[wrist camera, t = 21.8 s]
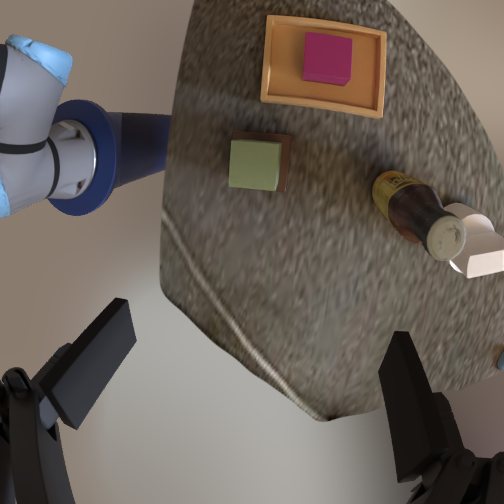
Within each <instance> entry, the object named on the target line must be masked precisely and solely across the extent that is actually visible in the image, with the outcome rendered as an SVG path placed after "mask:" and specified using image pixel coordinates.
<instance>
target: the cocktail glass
mask: <svg viewBox="0 0 504 504" xmlns="http://www.w3.org/2000/svg"><path fill="white" fill-rule="evenodd" d="M498 368H499V369H500V370H504V350H503V352H502V353H501V355H500V357H499V359H498Z"/></svg>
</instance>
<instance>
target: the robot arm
mask: <svg viewBox="0 0 504 504" xmlns="http://www.w3.org/2000/svg"><path fill="white" fill-rule="evenodd" d="M5 43H6V44H0V218H2V217H7V216H9V215H11V214H12V213H15V212H17V211H19V210H21V209H23V208H25V207H28V206H30V205H32V204H34V203H37V202H39V201H41V200H43V199H46V198H55V199H72V198H75V197H78V196H80V195H82V194H84V193H85V192H86V191H87V190H88V189H89V188H90V186H91V185H92V183H93V181H94V179H95V176H96V173H97V169H98V158H99V157H98V148H97V143H96V140H95V137H94V135H93V133H92V132H91V130H90V129H89V128H88V126H87V125H85V124H84V123H83V122H81V121H78V120H63V121H60V122H58V123H56V124H54V125H52V121H53V118H54V115H55V112H56V109H57V106H58V103H59V100H60V97H61V95H62V92H63V89H64V87H66V85H67V83H66V81H67V78H68V75H69V73H70V70H71V68H72V64H73V59H72V57H71V55H70V54H69V53H67V52H65V51H62V50H60V49H57V48H54V47H52V46H49V45H46V44H43V43H40V42H37V41H33V40H30V39H27V38H25V37H21V36H18V35H14V34H13V35H10V36H9V38H8V39H7V40H6V42H5ZM51 125H52V126H51ZM136 341H137V340H136V336H135V332H134V327H133V323H132V319H131V314H130V309H129V304H128V300H126V299H121V298H115V299H114V300H113V301H112V302H111V303H110V304H109V305H108V306H107V307H106V308H105V309H104V310H103V311H102V312H101V313H100V314H99V315H98V317H96V319H95V320H94V321H93V322H92V323H91V324H90V325H89V326H88V327H87V328H86V329H85V330H84V331H83V333H82V334H81V335H80V336H79V337H78V338H77V339H76V340H75V341H74V342H73V344H70V343H67V344H65V345H64V346H62V347H60V348H59V349H58V350H57V351H56V352H55V354H54V355H53V356H52V357H51V358H50V359H49V361H48V362H46V364H45V365H44V366H43V367H42V368H41V369H40V371H39V372H38V373H37V374H36V375H35V376H34V377H33V378H32V380H31V381H30V379H29V377H28V376H27V374H26V372H25V371H24V370H23V369H22V368H19V367H14V368H11V369H9V370H8V371H6V372H5V374H4V375H3V377H2V382H3V383H4V384H3V383H2V382H1V380H0V504H15V500H16V501H17V504H75V501H74V497H73V494H72V490H71V486H70V482H69V478H68V475H67V470H66V465H65V461H64V456H63V451H62V446H61V440H60V433H59V426H58V423H57V421H56V420H57V418H58V417H60V418H61V420H62V421H63V423H64V424H66V425H68V426H70V427H72V428H74V429H76V430H77V429H78V428H79V426H80V425H81V423H82V422H83V420H84V418H85V417H86V415H87V414H88V412H89V411H90V409H91V407H92V406H93V405H94V403H95V402H96V400H97V399H98V397H99V395H100V394H101V392H102V391H103V389H104V388H105V386H106V385H107V383H108V382H109V380H110V379H111V378H112V376H113V374H114V373H115V372H116V370H117V369H118V367H119V366H120V364H121V363H122V361H123V360H124V359H125V357H126V355H127V354H128V353H129V351H130V350H131V348H132V347H133V346H134V344H135V343H136ZM378 374H379V378H380V383H381V387H382V392H383V396H384V401H385V406H386V411H387V416H388V421H389V427H390V433H391V438H392V445H393V451H394V458H395V464H396V473H397V481H398V483H402V482H409V481H414V480H416V478H418V477H419V476H420V475H422V482H420V483H419V484H418V485H417V486H416V487H414V488H413V489H412V490H411V492H414V491H415V492H414V493H413V495H412V496H411V497H410V499H409V500H408V502H407V503H406V504H504V452H499V453H497V454H496V455H495V456H494V457H493V458H478V457H475V455H474V453H472V452H471V451H470V450H468V449H465V448H464V446H463V443H462V439H461V436H460V433H459V430H458V427H457V424H456V421H455V419H454V415H453V412H451V410H452V409H451V407H450V404H449V401H448V400H447V398H446V397H445V396H444V395H443V394H442V392H437V393H432V390H431V388H430V385H429V382H428V379H427V377H426V374H425V371H424V369H423V366H422V364H421V361H420V358H419V356H418V354H417V351H416V349H415V346H414V344H413V341H412V339H411V337H410V334H409V332H405V331H394V334H393V336H392V339H391V342H390V344H389V347H388V349H387V352H386V354H385V357H384V359H383V361H382V364H381V366H380V368H379V371H378Z"/></svg>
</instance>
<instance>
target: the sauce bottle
mask: <svg viewBox="0 0 504 504" xmlns="http://www.w3.org/2000/svg"><path fill="white" fill-rule="evenodd" d="M372 196H373V200H374V203H375V204H376V206H377V207H378V209H379V210H380V211H381V212H382V213H383V215H384V216H385V217H386V218H387V220H388V221H389V222H390V223H391V225H392V226H393V227H394V228H395V229H396V230H397V231H398V232H399V233H400V234H401V235H402V236H403V237H404V238H405V239H407V240H408V241H411V242H413V243H416V244H419V243H420V244H421V243H423V246H424V248H425V250H426V251H427V252H428V253H429V254H430V255H431V256H432V257H433V258H434V259H436V260H439V261H449V260H451V259H453V258H454V257H456V256H457V255H458V254H459V253H460V252H461V251H462V249H463V247H464V245H465V241H466V230H465V227H464V224H463V222H462V221H461V220H460V219H459V218H458V217H457V216H456V215H455V214H453V213H451V212H449V211H445V210H444V208H443V206H442V203H441V201H440V199H439V196H438V194H437V193H436V191H435V190H434V189H433V188H431V187H430V186H428V185H426V184H424V183H422V182H420V181H418V180H416V179H414V178H412V177H410V176H408V175H406V174H404V173H402V172H399V171H387V172H383V173H381V174H380V175H379V176H378V177H377V178H376V180H375V181H374V183H373V185H372Z"/></svg>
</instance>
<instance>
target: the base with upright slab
mask: <svg viewBox="0 0 504 504" xmlns="http://www.w3.org/2000/svg"><path fill="white" fill-rule="evenodd" d="M444 210H445V211H449V212H451V213H453V214H455V215H456V216H457V217H458V218H459V219H460V220H461V221H462V222H463V224H464V227H465V230H466V241H465V245H464V247H463V249H462V251H461V252H460V253H459V254H458V255H457V256H456V257H454V258H453V259H451V260H449V261H447V262H448V263H449V264H450V265H451V266H452V267H453V268H454V269H455V270H456V271H458V272H460V273H463V274H464V275H465V276H466V277H467V278H473V277H477V276H482V275H487V274H491V273H496V272H500V271H504V238H503V237H501V236H500V235H499V234H497V233H496V232H494V228H493V225H492V224H491V222H490V220H489V219H488V218H487V217H485V216H484V215H482V214H480V213H479V212H477V211H475V210H473V209H472V208H470V207H468V206H466V205H464V204H462V203H453V204H449V205H448V206H446V207H444Z"/></svg>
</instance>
